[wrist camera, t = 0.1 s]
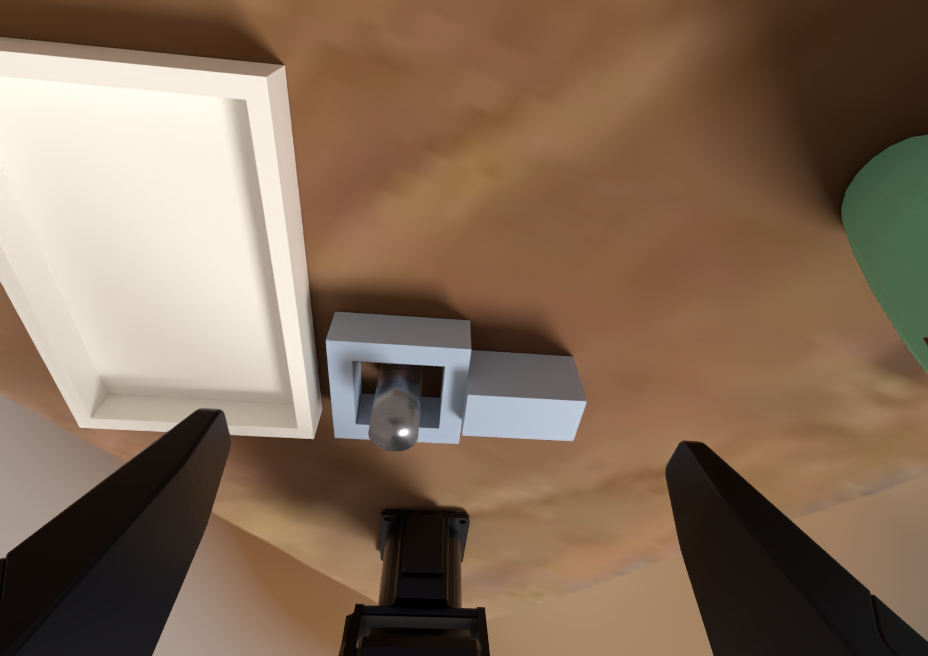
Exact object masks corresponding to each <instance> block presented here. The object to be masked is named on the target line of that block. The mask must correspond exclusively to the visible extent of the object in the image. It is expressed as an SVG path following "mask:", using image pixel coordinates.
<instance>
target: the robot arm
mask: <svg viewBox="0 0 928 656" xmlns="http://www.w3.org/2000/svg"><path fill="white" fill-rule="evenodd" d="M230 445H231V438H230V433H229V429H228V425H227V421H226V417H225V414H224V412H223V410H221V409H215V408H199V409H197V410H195V411H194V412H193V413H191V414H190V415H189V416H187V417H186V418H185V419H183V420H182V421H181V422H180V423H178V424H177V425H176V426H174V427H173V428H172V429H170V430H169V431H168V432H166V433H165V434H164V435H162V436H161V437H160V438H158V439H157V440H156V441H155V442H153V443H152V444H151V445H149V446H148V447H147V448H145V449H144V450H143V451H141V452H140V453H139V454H137V455H136V456H135V457H134V458H132V459H131V460H130V461H128V462H127V463H126V464H124V465H123V466H122V467H120V468H119V469H118V470H116V471H115V472H114V473H112V474H111V475H110V476H109V477H107V478H106V479H105V480H103V481H102V482H101V483H99V484H98V485H97V486H96V487H94V488H93V489H91V490H90V491H89V492H88V493H86V494H85V495H84V496H82V497H81V498H80V499H79V500H77V501H76V502H74V503H73V504H72V505H70V506H69V507H68V508H67V509H65V510H64V511H63V512H61V513H60V514H59V515H58V516H56V517H55V518H53V519H52V520H51V521H49V522H48V523H47V524H45V525H44V526H43V527H42V528H40V529H39V530H38V531H37V532H35V533H34V534H32V535H31V536H30V537H28V538H27V539H26V540H24V541H23V542H22V543H20V544H19V545H18V546H17V547H15V548H14V549H13V550H11V551H10V552H9V553H8V554H7V555H6V558H1V559H0V656H152V655H153V652H154V650H155V647H156V645H157V643H158V641H159V638H160V636H161V633H162V631H163V629H164V626H165V624H166V622H167V619H168V617H169V615H170V612H171V610H172V607H173V605H174V603H175V600H176V598H177V596H178V593H179V591H180V589H181V586H182V584H183V582H184V579H185V577H186V574H187V572H188V570H189V567H190V565H191V563H192V560H193V558H194V556H195V553H196V550H197V549H198V546H199V544H200V542H201V539H202V537H203V534H204V531H205V529H206V526H207V524H208V520H209V517H210V514H211V511H212V508H213V504H214V501H215V498H216V494H217V491H218V487H219V484H220V481H221V477H222V474H223V471H224V467H225V464H226V460H227V457H228V454H229V450H230ZM665 474H666V481H667V486H668V491H669V496H670V501H671V506H672V511H673V516H674V521H675V526H676V531H677V536H678V540H679V545H680V549H681V552H682V556H683V559H684V562H685V565H686V569H687V572H688V575H689V578H690V581H691V584H692V588H693V591H694V594H695V598H696V601H697V604H698V607H699V610H700V614H701V617H702V620H703V623H704V626H705V629H706V633H707V636H708V639H709V642H710V646H711V649H712V652H713V655H714V656H928V641H926V640H925V639H924V638H923V637H922V636H921V635H920V634H918V633H917V632H916V631H915V630H914V629H913V628H911V627H910V626H909V625H908V624H907V623H906V622H905V621H903V620H902V619H901V618H900V617H899V616H897V615H896V614H895V613H894V612H893V611H892V610H891V609H890V608H889V607H887V606H886V605H885V604H884V603H883V602H882V601H881V600H880V599H878V598H877V597H876V596H875V595H871V593H870V591H869V590H868V589H867V588H866V587H865V586H864V585H863V584H861V583H860V582H859V581H858V580H857V579H856V578H855V577H854V576H853V575H851V574H850V573H849V572H848V571H847V570H846V569H845V568H844V567H842V566H841V565H840V564H839V563H838V562H837V561H836V560H835V559H833V558H832V557H831V556H830V555H829V554H828V553H827V552H826V551H825V550H823V549H822V548H821V547H820V546H819V545H818V544H817V543H816V542H814V541H813V540H812V539H811V538H810V537H809V536H808V535H807V534H805V533H804V532H803V531H802V530H801V529H800V528H799V527H798V526H796V525H795V524H794V523H793V522H792V521H791V520H790V519H789V518H788V517H786V516H785V515H784V514H783V513H782V512H781V511H780V510H779V509H777V508H776V507H775V506H774V505H773V504H772V503H771V502H770V501H768V500H767V499H766V498H765V497H764V496H763V495H762V494H761V493H760V492H758V491H757V490H756V489H755V488H754V487H753V486H752V485H751V484H749V483H748V482H747V481H746V480H745V479H744V478H743V477H742V476H740V475H739V474H738V473H737V472H736V471H735V470H734V469H733V468H731V467H730V466H729V465H728V464H727V463H726V462H725V461H724V460H723V459H721V458H720V457H719V456H718V455H717V454H716V453H715V452H714V451H712V450H711V449H710V448H709V447H708V446H707V445H706V444H704V443H702V442H698V441H682V442H680V443H679V445H678V446H677V448H676V450H675V451H674V453H673V455H672V457H671V458H670V460H669V462H668V464H667V466H666V472H665ZM468 528H469V515H468V514H465V513H446V512H420V511H395V510H385V511H382V512H381V517H380V543H381V560H382V561H383V568H382V576H381V585H380V593H379V602H378V606H365V605H364V604H356V605H355V610H354V613H353V614H351V615H348V616H346V621H345V627H344V633H343V638H342V643H341V648H340V651H339V655H338V656H490V651H489V642H488V633H487V624H486V614H485V607H477V608H476V609H473V608H462V603H461V563H462V561H463V556H464V550H465V545H466V539H467V534H468Z"/></svg>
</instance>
